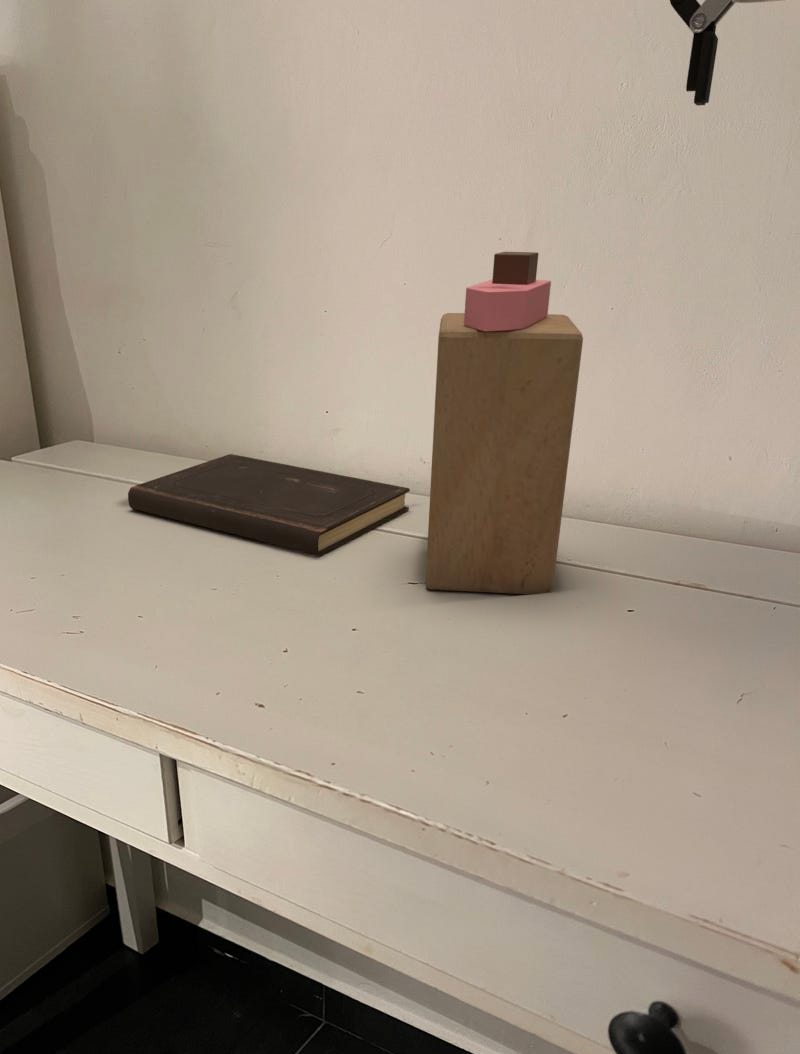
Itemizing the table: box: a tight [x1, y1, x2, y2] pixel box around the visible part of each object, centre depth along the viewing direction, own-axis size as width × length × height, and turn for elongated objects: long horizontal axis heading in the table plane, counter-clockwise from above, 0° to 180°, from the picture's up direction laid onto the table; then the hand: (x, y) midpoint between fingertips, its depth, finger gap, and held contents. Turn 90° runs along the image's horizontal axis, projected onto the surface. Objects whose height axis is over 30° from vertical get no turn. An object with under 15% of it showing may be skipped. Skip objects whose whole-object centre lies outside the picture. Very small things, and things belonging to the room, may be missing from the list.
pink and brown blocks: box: [464, 251, 552, 332], centre depth 66 cm, size 10×4×5 cm, turn 155°
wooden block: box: [424, 312, 584, 595], centre depth 72 cm, size 10×10×20 cm
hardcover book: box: [127, 453, 411, 557], centre depth 91 cm, size 16×23×2 cm
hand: (778, 100), depth 61 cm, fingers open, 9 cm apart
